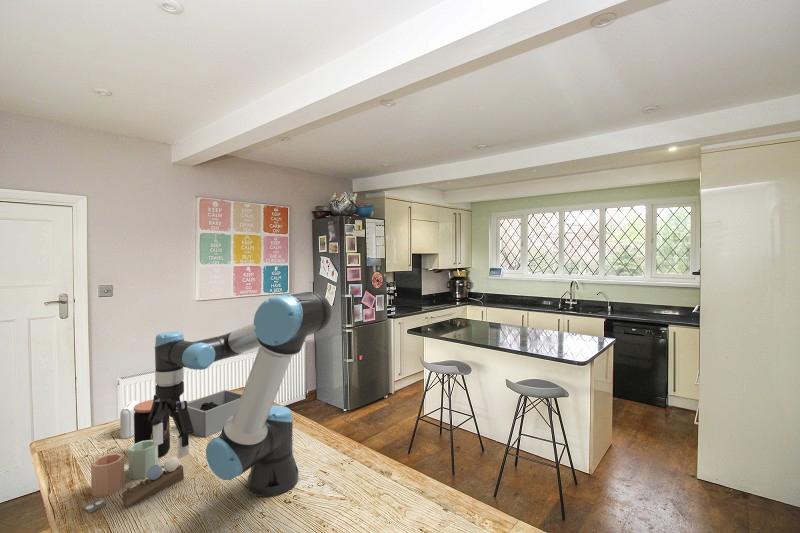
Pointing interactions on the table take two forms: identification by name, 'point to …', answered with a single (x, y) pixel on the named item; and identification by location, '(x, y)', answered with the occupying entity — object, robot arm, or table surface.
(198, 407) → the box
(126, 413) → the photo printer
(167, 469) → the cream ball
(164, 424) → the coffee jar
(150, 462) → the tubes
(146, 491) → the rack
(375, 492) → the table surface
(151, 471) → the blue ball
